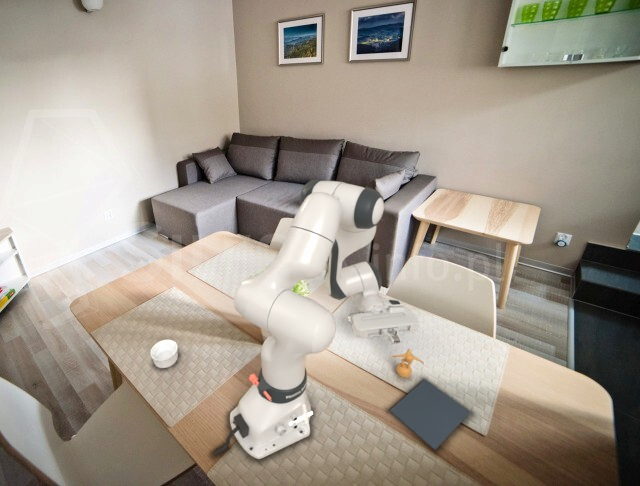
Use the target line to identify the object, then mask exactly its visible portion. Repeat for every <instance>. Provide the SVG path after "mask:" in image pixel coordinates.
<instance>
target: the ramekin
mask: <svg viewBox="0 0 640 486" xmlns="http://www.w3.org/2000/svg"><path fill="white" fill-rule="evenodd" d="M178 348H179V347H178V343H177V342H176V341H175V340H172V339H162V340H160V341H158V342H156V343H155V344H154V345H152V347H151V349H150V353H149V354H150V357H151V359H152V361H153V363H154V365H155V367H157V368H159V369H166V368H170V367H172V366H173V365H174V364H175V363H176V362H177V361H178V357H179V351H178Z"/></svg>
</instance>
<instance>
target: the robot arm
mask: <svg viewBox="0 0 640 486" xmlns="http://www.w3.org/2000/svg"><path fill="white" fill-rule="evenodd" d="M384 199H385V198H384V197H383V195H382V194H381V192H380V191H378V190H377V189H373V188H371V187H364V186H360V185H355V184H352V183H346V182H345V181H338V180H324V179H312V180H311V179H310V181H308V182H307V183H305V185H303V187H302V189H301V191H300V194H299V205H300V206H299V208H298V209H297V212H296V213H295V215H294V218H293V219H292V221H291V224H290V226H289V229H288V231H287V234H286V236H285V238H284V240H283V242H282V245H281V246H280V249H279V250H278V252H277V255H276V257H275V258H274V259H273V261H272V262H271V263H270V264H269V265H268V266H267V267H266V268H265V269H264V270H262V271H261V272H260V273H258V274H255V275H253V276H251V277H247V278H246V279H244V280H242V282H241V283H240V284H239V285H238V286H237V288H236V290H235V292H234V297H233V304H234V309H235V311H237V312H238V313H239V315H241V317H243V318H244V319H245V320H247V321H248V323H250V324H252V325H254V326H256V327H258V328H260V329H261V330H263V331H265V332H267V333H269V334H270V335H269V336H268V337H266V339H265V340H264V342H263V343H262V345H261V348H260V363H261V364H260V365H261V366H260V370H259V373H258V375H256V373H252V374H251V373H250V375H249V377H248V380H249V381H250V382H251V383H252V385H251V386H250V388H249V389H248V390H247V391H246V392H245V394H244V395H242V397H241V398H240V399H239V402H238V405H237V406H236V407H235V408H234V409H232V411H231V412H230V414H229V424H230V429H231V431H230V432H229V433H228V435H227V437H226V439H225V443H224V444H223V445H222V446H221V447H219V448H217V449H216V450H214V451H213V452H212V453H213V455H214V456H217V455H219V454H221V453H222V452H225V450H226V449H228V447H229V446H230V444H231V439H232V437H233V436H234V437H235V439H236V440H237V442H238V444H239V446H241V448H242V449H243V450H244V451H245V452H246V453H247V454H248V455H249V456H251V457H252V458H254V459H257V460H260V459H263V458H266V457H267V456H269V455H272V454H274V453H276V452H278V451H280V450H282V449H285V448H286V447H289V446H291V445H292V444H295V443H296V442H298V441H301V440H303V439H305V438H307V437H309V436H310V435H311V427H310V420H311V419H310V418H311V416H312V415H313V414H314V412H313V410H312V405H311V402H310V400H309V397H308V394H307V386H308V373H307V367H306V361H307V356H308V355H316V354H320V353H322V352H324V351H326V350H327V349H328V348H329V347H330V346H331V345H332V343H333V341H334V339H335V337H336V333H337V324H336V318H335V316H334V313H333V312H332V311H331V310H329V309H328V308H326V307H325V306H323V305H322V304H321V303H319V302H317V301H316V300H314V299H312V298H309V297H308V296H305V295H303V294H301V293H297V292H296V291H293V290H294V288H295V287H296V285H297V284H298V283H299V282H301V281H303V280H310V279H315V278H317V277H319V276H320V275H321V274H322V273H324V271H325V275H324V279H323V281H324V288H325V291H326V292H327V294H328V296H329V297H331V298H333V299H335V300H338V301H341V300H343V299H346V298H348V297H350V296H351V297H350V298H352V300H353V302H354V304H355V305H356V306H357V307H358V309H359V312H352V313H350V314H348V315H347V317H346V318H347V320H348V322H349V324H351V327H352V330H353V333H354V335H355V337H358V338H359V339H361V338H362V339H363V338H372V337H380V336H381V337H382V338H383V339H385V340H387V341H389V343H390V344H391V345H396V344H402V341H403V340H402V337H401V336H400V334H404V333H413V332H414V333H415V332H418V331H419V328H420V320H419V318H418V317H417V315H415V313H413V311H412V310H411V309H410V308H408V307H406V306H404V302H403V301H402V300H399V299H398V300H397V299H389V298H385V297H382V295H380V294H379V293H380V290H381V289H382V284H383V280H382V276H381V273H380V272H379V270H378V268H377V267H376V266H375V265H374V264H373V263H372V262H370V261H367V260H365V261H361V262H357V263H354V264H351V265H347V266H345V267H343V262H344V261H345V259H346V258H348V257H350V255H352V254H354V253H355V252H357V251H359V250H360V249H363V248H365V247H367V246H368V245H369V244H370V243H371V242H372V241H373V240H374V238H375V236H376V234H377V225H378V224H379V223H380V221H381V219H382V217H383V215H384V210H385V200H384Z"/></svg>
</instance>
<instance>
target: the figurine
mask: <svg viewBox="0 0 640 486" xmlns="http://www.w3.org/2000/svg"><path fill="white" fill-rule="evenodd" d="M392 358H401V362H400V363H398V364H397V365H396V368H395V369H396V374H398V376H400V377H401V378H403V379H404V378H405V379H407V378H409V377H411V376H412V368H411V364H413V363H414V361H413V360H416V361H418V362H420V363H421V364H422V365H424V364H425V363H424V362H423V361H422V359H420V358H418V357H417V356H415V355H414V354H413V353H412V351H411V349H410V348H408V349H407V350H406V352H405V353H403V354H396V355H392V356H391V357H390V359H392Z"/></svg>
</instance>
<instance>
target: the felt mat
mask: <svg viewBox="0 0 640 486" xmlns="http://www.w3.org/2000/svg"><path fill="white" fill-rule="evenodd" d="M389 412H390V413H391V414H392V415H394V417H396V418H397V419H398V420H399V421H400V422H402V424H404V425H405V426H406V427H407V428H408V429H410V430H411V431H412V432H413V433H414V434H415V435H417V436H418V437H419V438H420V439H421V440H422V441H423V442H425V443H426V444H427V445H428V446H429V447H430V448H432V449H433V450H434V451H436V450H437V449H438V448H439V447H440V446H441V445H442V443H443V442H444V441H446V439H447V438H448V437H449V436H450V435H451V434H452V433H453V432H454V431H455V430H456V428H457V427H458V426H459V425H460V424H461V423H462V422H463V421H464V420H465V419H466V418H467V416H469V414H470V413H471V411H470V410H468V409H467V408H465V406H463V405H461V404H460V403H459V402H457V401H456V400H455V399H453V398H452V397H450V396H449V395H447V394H446V393H445V392H443V391H442V390H440V389H439V388H438V387H436V386H435V385H434V384H432V383H431V382H429V381H428V380H426V379H423V380H422V381H421V382H420V383H418V385H416V387H415V388H413V389H412V390H410V392H409V393H408V394H406V395H405V396H404V397H403V398H402V399H401V400H399V401H398V402H397V403H396V404H395V405H394V406H392V408H390V410H389Z"/></svg>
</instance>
